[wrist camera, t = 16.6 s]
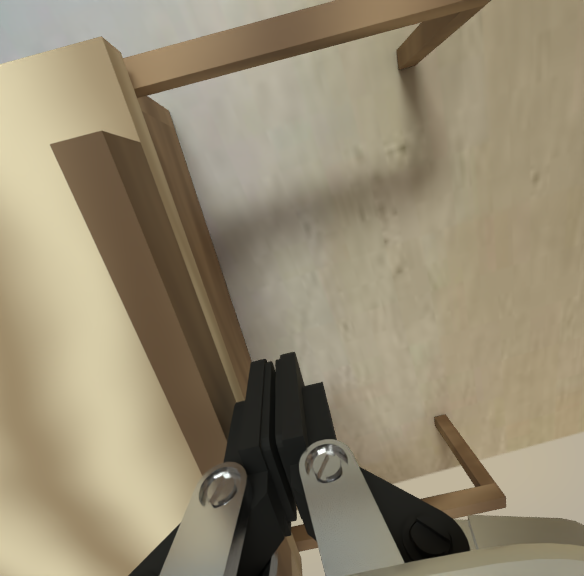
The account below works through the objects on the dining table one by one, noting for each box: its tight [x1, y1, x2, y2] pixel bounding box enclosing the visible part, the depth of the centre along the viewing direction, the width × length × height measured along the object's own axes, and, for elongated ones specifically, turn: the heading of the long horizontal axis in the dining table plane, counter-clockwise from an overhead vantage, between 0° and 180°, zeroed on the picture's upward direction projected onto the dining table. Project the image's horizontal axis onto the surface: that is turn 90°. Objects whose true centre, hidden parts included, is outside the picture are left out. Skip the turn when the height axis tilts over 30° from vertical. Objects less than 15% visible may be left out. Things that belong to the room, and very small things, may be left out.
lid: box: [0, 36, 302, 576], centre depth 11 cm, size 15×23×3 cm, turn 14°
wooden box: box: [123, 0, 506, 552], centre depth 16 cm, size 27×23×6 cm
